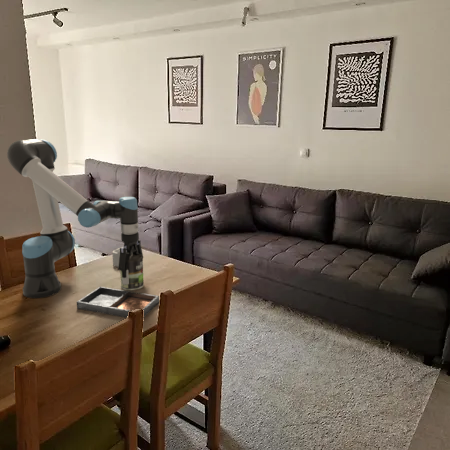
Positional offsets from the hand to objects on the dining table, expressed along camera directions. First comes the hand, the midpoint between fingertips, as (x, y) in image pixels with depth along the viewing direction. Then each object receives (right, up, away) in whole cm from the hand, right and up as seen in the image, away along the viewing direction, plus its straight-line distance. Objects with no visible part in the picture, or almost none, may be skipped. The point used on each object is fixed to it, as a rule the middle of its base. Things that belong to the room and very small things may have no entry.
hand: (132, 279), depth 175 cm
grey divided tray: (-1, -8, -18) cm, 20 cm away
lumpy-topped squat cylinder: (-9, +4, +27) cm, 29 cm away
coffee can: (0, -3, +1) cm, 4 cm away
